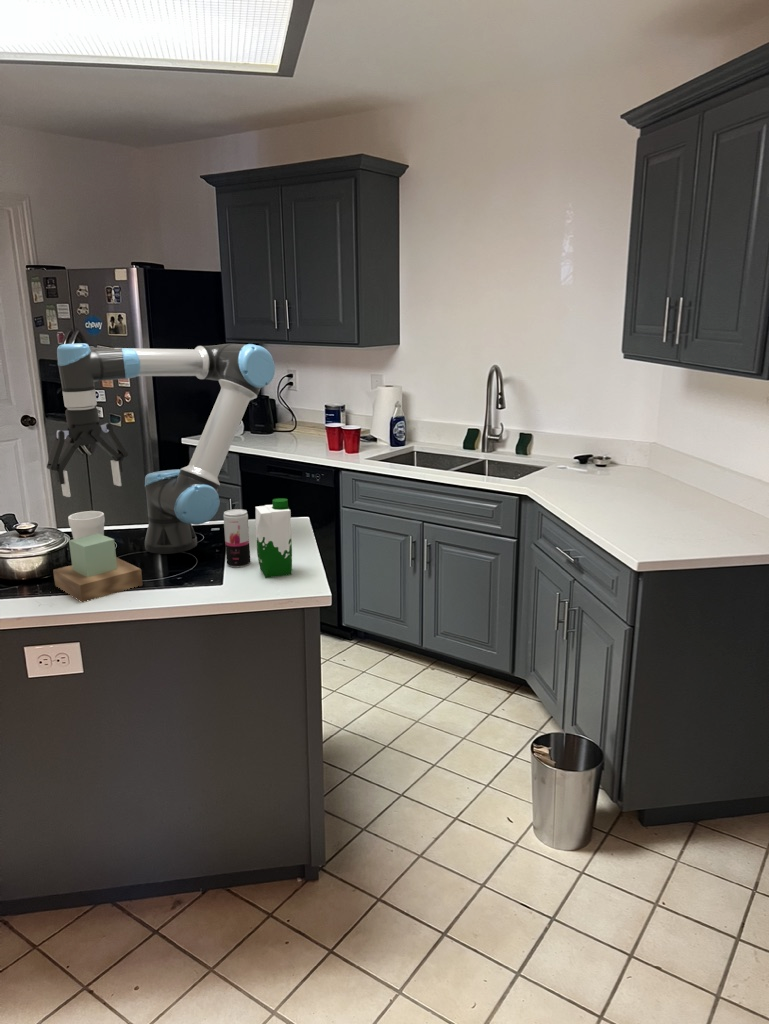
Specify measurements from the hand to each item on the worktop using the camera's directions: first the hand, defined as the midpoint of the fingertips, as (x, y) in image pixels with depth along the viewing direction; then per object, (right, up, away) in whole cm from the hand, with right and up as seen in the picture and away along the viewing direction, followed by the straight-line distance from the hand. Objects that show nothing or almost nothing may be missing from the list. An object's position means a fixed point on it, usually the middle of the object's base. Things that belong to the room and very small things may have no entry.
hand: (92, 490), depth 192 cm
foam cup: (-9, -19, +23) cm, 31 cm away
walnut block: (+1, -25, +2) cm, 25 cm away
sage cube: (0, -20, +1) cm, 20 cm away
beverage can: (+34, -20, +18) cm, 43 cm away
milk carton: (+45, -22, +11) cm, 51 cm away
